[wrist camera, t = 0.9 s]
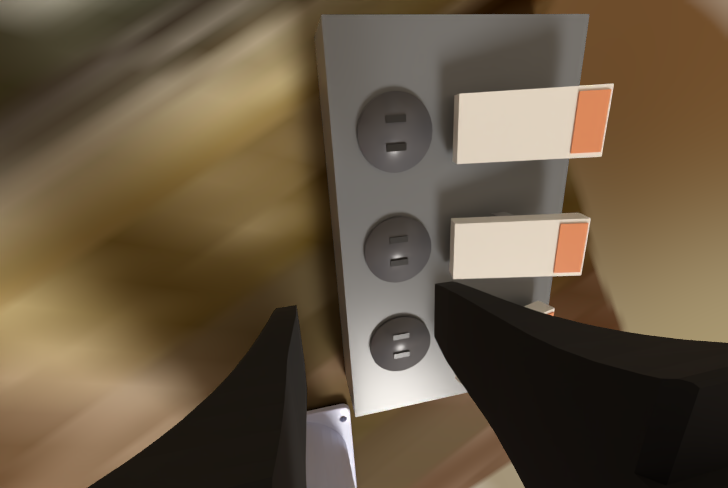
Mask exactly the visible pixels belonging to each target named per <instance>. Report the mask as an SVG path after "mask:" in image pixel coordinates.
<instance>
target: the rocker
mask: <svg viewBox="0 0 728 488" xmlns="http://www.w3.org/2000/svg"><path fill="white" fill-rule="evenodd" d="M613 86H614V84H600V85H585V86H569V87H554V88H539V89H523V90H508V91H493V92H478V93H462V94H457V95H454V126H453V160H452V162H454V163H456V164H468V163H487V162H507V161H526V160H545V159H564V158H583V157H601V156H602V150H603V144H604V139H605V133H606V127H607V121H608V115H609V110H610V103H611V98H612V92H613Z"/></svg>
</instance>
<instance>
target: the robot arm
mask: <svg viewBox="0 0 728 488" xmlns="http://www.w3.org/2000/svg"><path fill="white" fill-rule="evenodd" d="M434 337H435V339H436V341H437V343H438V346H439V348H440V350H441V352H442V354H443V355H444V357H445V359H446V361H447V363H448V364H449V366H450V367H451V369H452V370H453V372H454V373H455V375H456V376H457V378H458V379H459V381H460V382H461V383H462V385H463V386H464V388H465V389H466V391H467V392H468V393H469V395H470V396H471V398H472V399H473V401H474V402H475V403H476V405H477V406H478V408H479V409H480V411H481V412H482V413H483V415H484V416H485V418H486V419H487V421H488V422H489V424H490V426H491V427H492V429H493V430H494V432H495V433H496V435H497V437H498V439H499V441H500V442H501V444H502V446H503V448H504V450H505V451H506V453H507V455H508V457H509V458H510V460H511V462H512V464H513V466H514V467H515V469H516V471H517V473H518V475H519V477H520V479H521V481H522V482H523V485H524V486H525V488H728V343H722V342H708V341H693V340H683V339H673V338H666V337H657V336H649V335H642V334H636V333H629V332H623V331H618V330H613V329H607V328H602V327H597V326H592V325H587V324H583V323H579V322H575V321H571V320H567V319H563V318H559V317H555V316H552V315H548V314H545V313H542V312H539V311H536V310H533V309H529V308H526V307H523V306H520V305H518V304H515V303H512V302H509V301H506V300H504V299H501V298H498V297H496V296H493V295H491V294H488V293H485V292H483V291H480V290H478V289H475V288H472V287H470V286H467V285H464V284H461V283H458V282H454V281H450V282H443V283H437V284H435V311H434ZM342 416H345V417H342ZM88 488H357V484H356V473H355V462H354V451H353V440H352V430H351V419H350V410H349V406H348V405H347V404H338V405H333V406H329V407H324V408H319V409H314V410H310V411H307V384H306V374H305V363H304V355H303V348H302V341H301V334H300V327H299V320H298V313H297V306H296V305H295V306H288V307H282V308H276V309H275V310H274V312H273V313H272V315H271V317H270V319H269V320H268V322H267V324H266V325H265V327H264V329H263V330H262V332H261V333H260V335H259V336H258V338H257V339H256V341H255V342H254V344H253V345H252V347H251V348H250V349H249V351H248V352H247V353H246V355H245V356H244V357H243V359H242V360H241V361H240V362H239V364H238V365H237V366H236V368H235V369H234V370H233V371H232V372H231V373H230V375H229V376H228V377H227V378H226V379H225V380H224V381H223V382H222V383H221V384H220V385H219V386H218V388H217V389H216V390H215V391H214V392H213V393H212V394H210V395H209V396H208V397H207V398H206V399H205V400H204V401H203V402H202V403H201V404H199V405H198V406H197V407H196V408H195V409H194V410H193V411H192V412H190V413H189V414H188V415H187V416H186V417H185V418H184V419H183V420H181V421H180V422H179V423H178V424H177V425H175V426H174V427H173V428H172V429H170V430H169V431H168V432H166V433H165V434H164V435H163V436H161V437H160V438H159V439H157V440H156V441H155V442H153V443H152V444H151V445H149V446H148V447H147V448H145V449H144V450H143V451H141V452H140V453H138V454H137V455H136V456H134V457H133V458H131V459H130V460H129V461H127V462H126V463H124V464H123V465H121V466H120V467H118V468H117V469H115V470H114V471H112V472H111V473H109V474H107V475H106V476H104V477H103V478H101V479H100V480H98V481H97V482H95V483H94V484H92V485H91V486H89V487H88Z"/></svg>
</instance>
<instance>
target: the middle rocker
mask: <svg viewBox="0 0 728 488" xmlns="http://www.w3.org/2000/svg"><path fill="white" fill-rule="evenodd" d="M590 220H591V218H589V217H587V216H585V215H582V214H580V213H562V214H538V215H514V216H491V217H467V218H451V229H450V263H449V271H450V273H451V276H452V278H453V279H475V278H508V277H540V276H573V275H581V273H582V267H583V261H584V255H585V249H586V244H587V238H588V232H589V226H590Z"/></svg>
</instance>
